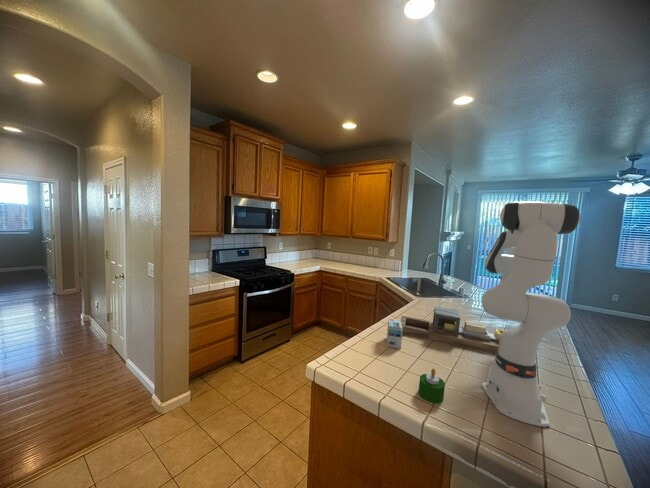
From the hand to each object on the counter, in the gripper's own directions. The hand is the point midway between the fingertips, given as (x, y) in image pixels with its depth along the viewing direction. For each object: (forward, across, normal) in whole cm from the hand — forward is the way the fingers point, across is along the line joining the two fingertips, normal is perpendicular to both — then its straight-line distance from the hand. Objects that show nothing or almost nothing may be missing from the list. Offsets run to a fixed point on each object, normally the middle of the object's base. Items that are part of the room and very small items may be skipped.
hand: (508, 305), depth 131 cm
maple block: (+19, 0, +14) cm, 23 cm away
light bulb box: (+23, -24, +53) cm, 63 cm away
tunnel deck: (+23, 0, +25) cm, 34 cm away
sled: (+19, 0, +13) cm, 23 cm away
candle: (+24, -59, +36) cm, 73 cm away
